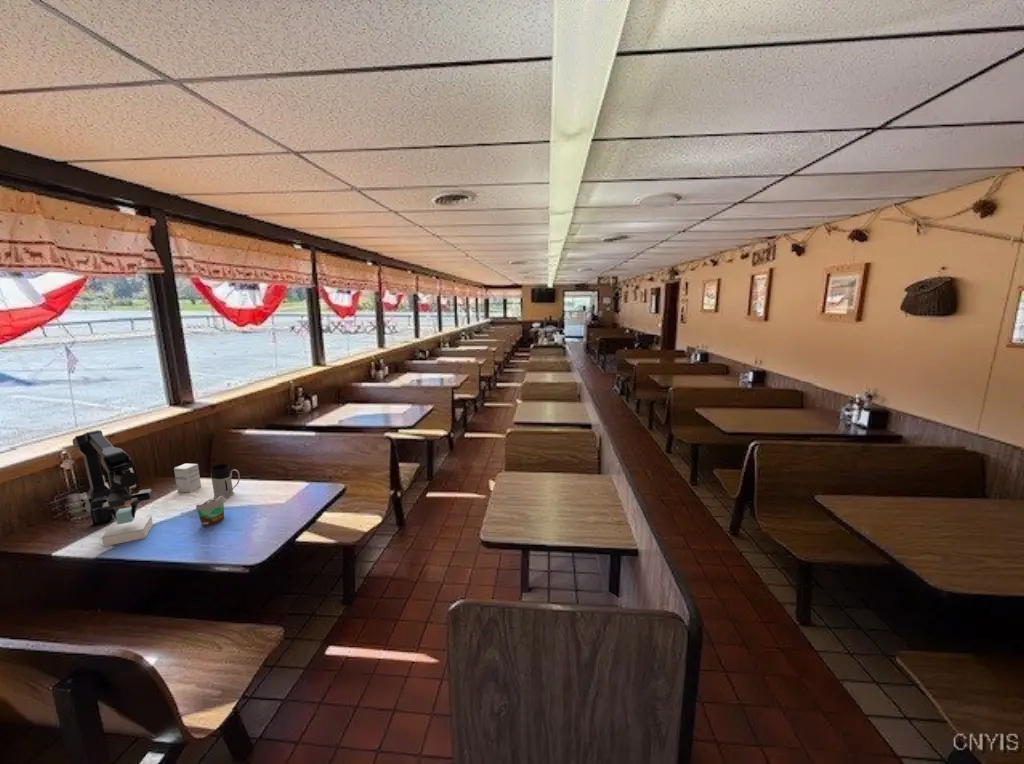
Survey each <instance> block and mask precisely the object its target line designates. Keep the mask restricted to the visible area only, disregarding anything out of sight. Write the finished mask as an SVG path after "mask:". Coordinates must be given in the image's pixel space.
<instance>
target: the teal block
mask: <svg viewBox="0 0 1024 764" xmlns="http://www.w3.org/2000/svg"><path fill="white" fill-rule="evenodd" d="M115 519H116V522H117V524H123V523H128V522H132V521H133V520H134V519H136V516H135V517H133V516H132V506H129V507H126V508H123V507H122V508H118V511H117V513H116V518H115Z"/></svg>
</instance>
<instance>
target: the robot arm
mask: <svg viewBox="0 0 1024 764" xmlns="http://www.w3.org/2000/svg"><path fill="white" fill-rule="evenodd" d="M72 445H73V447H74V448H75V450H76V451H77V452H78V453H80V454H81V455H82V457H83V461H84V465H85V470H86V474H87V478H88V481H89V482H88V483H89V487H90V488H89V490H88V492H87V493H86V500H85V504H84V509H85V511H86V512H88V513H90V515H91V516H90V517H91V521H92V523H91V524H90V526H96V525H97V526H98V525H103V524H107V523H111V522H112V521H113V519H114V518H115V519H116V513H117V511H118V510H119V508H118V507H122V506H124V505H125V504H126V502H128V501H131V500H132V501H131V502H130V507H132V516H133V517H135V518H136V513H137V510H138V506H139V504H140V503H141V502H143V501H148V500H151V498H152V496H153V495H154V491H153V490H152V489H151V488H148V489H141V490H139V491H138V492H137V493H133V494H132V490H131V487H134V486H136V484H137V483H138V481H139V475H138V474H137V473H135V472H132V471H131V469H130V468H133V467H134V462H133V460H132V459H131V456H129V454H128V453H127V452H125V450H123V449H122V448H120V447H115V446H113V444H111V442H110V441H109V440H108V439H107V438H106V437H105V436H104V434H103V431H102V430H101V429H100V430H99V429H97V430H92V431H87V432H85V433H83V434H80V435H79V434H78V435H75V437H74V438H73V439H72ZM99 455H100V456H101V457H100V458H99ZM101 465H102V467H103V469H104V470H105V472H107V477H108V480H109V481H108V482H109V487H108V486H107V485H106V484H105V480H104V476H103V471H102V467H101Z"/></svg>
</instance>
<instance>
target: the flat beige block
mask: <svg viewBox="0 0 1024 764" xmlns="http://www.w3.org/2000/svg"><path fill="white" fill-rule="evenodd" d="M153 525H154V523H153V516H152V515H147V516H142V517H138V518H137V517H135V518H134V520H133V521H132V522H128V523H123V524H117V521H116V522H112V523H111V524H110V525H109V527H108V528H107V530H106V531H105V532H104V534H102V536H101V540H102V545H103V547H108V546H113V545H117V544H122V543H127V542H132V540H133V541H138V540H142V539H145V538H147V536H148V534H149V532H150V530H151V528H152V527H153Z"/></svg>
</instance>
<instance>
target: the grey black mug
mask: <svg viewBox="0 0 1024 764" xmlns="http://www.w3.org/2000/svg"><path fill="white" fill-rule="evenodd" d="M234 471H235V472H236V473H237V481H236V484H235V485H234V486H233V481H232V477H233V472H234ZM210 473H211V474H210V477H211V478H210V479H211V482H212V483H211V484H212V489H213V498H215V497H217V496H218V494H222V495H223V496H224V498H226V499H228V497H229V498H231V497H230V496H232V495H233V494H234V495H235V492H234V489H235V488H236V487H237V486H238V485H239V483H240V480H241V479H240V478H241V476H240V475H241V474H240V471H239V470H237V469H235V468H234V469H232V470H231V471H230V465H229V464H228V463H222V464H221V463H220V464H216V465H213V466H211V467H210ZM234 495H233V496H234ZM233 496H232V497H233Z"/></svg>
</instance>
